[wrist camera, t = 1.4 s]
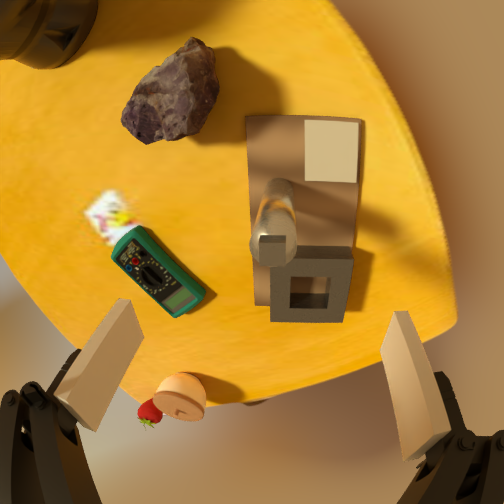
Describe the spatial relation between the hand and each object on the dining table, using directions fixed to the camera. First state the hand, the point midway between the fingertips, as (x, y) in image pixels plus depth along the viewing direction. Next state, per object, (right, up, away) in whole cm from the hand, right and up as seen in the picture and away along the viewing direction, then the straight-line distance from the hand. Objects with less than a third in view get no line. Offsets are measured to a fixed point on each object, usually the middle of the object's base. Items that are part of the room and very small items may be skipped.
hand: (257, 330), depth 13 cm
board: (+6, +8, +21) cm, 23 cm away
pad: (+9, +15, +16) cm, 24 cm away
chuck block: (+7, 0, +24) cm, 25 cm away
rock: (-7, +22, +15) cm, 28 cm away
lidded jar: (-14, -24, +41) cm, 49 cm away
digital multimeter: (-14, +1, +28) cm, 32 cm away
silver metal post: (+3, +11, +19) cm, 22 cm away
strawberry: (-24, -33, +48) cm, 63 cm away
